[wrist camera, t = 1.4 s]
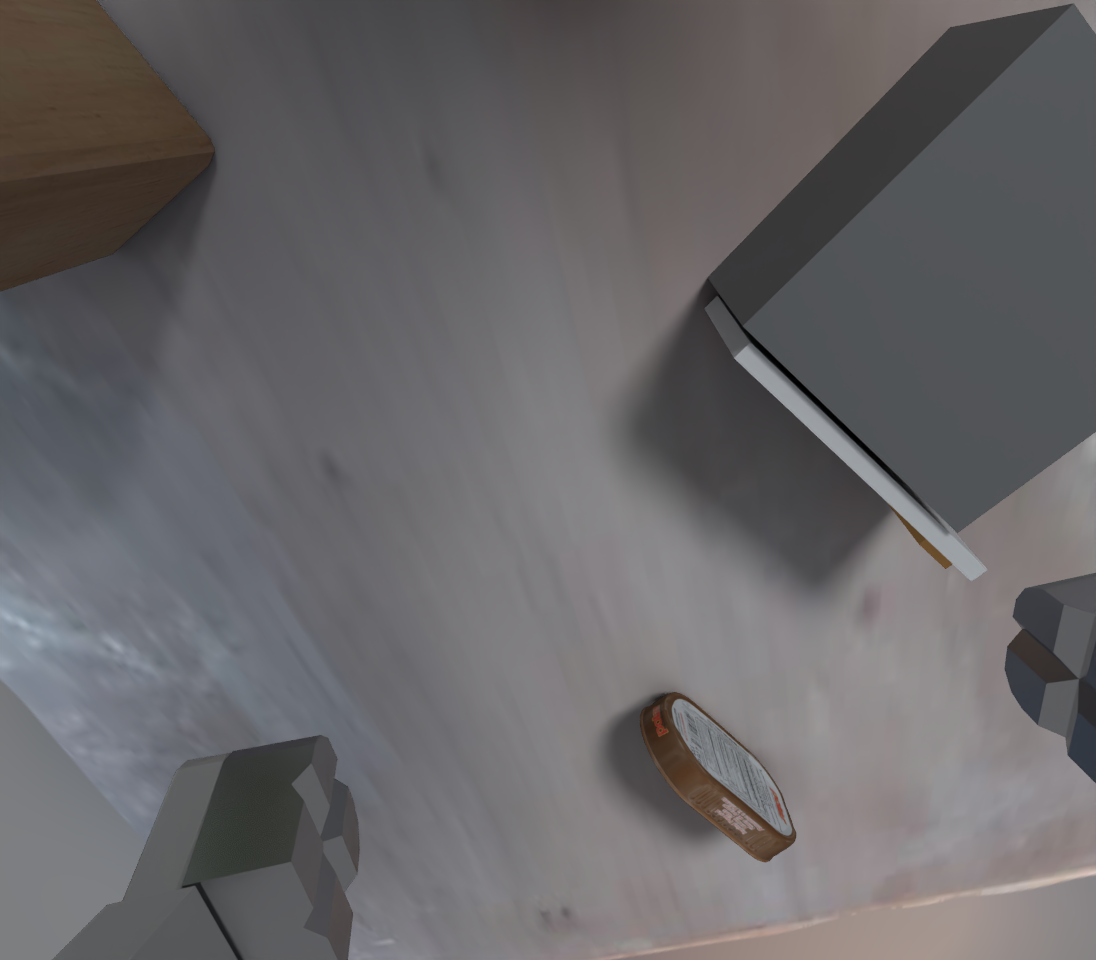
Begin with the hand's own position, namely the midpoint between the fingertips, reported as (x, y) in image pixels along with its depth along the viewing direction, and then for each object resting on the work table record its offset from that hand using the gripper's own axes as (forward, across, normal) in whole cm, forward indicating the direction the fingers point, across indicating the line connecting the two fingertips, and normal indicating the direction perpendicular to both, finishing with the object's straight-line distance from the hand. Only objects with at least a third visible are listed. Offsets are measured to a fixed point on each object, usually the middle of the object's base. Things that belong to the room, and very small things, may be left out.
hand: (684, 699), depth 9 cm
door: (+33, -17, +12) cm, 39 cm away
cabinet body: (+32, -23, +4) cm, 40 cm away
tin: (+35, -10, +39) cm, 53 cm away
